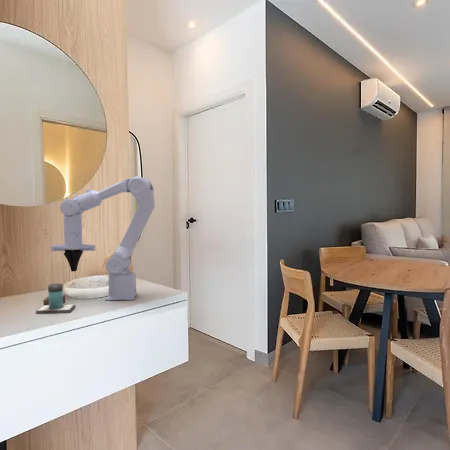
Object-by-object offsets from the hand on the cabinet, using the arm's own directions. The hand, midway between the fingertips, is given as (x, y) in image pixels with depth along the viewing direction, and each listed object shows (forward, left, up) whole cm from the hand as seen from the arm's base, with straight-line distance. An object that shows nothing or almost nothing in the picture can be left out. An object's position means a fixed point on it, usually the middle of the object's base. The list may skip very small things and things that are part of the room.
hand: (74, 270), depth 117 cm
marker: (+1, +15, -8) cm, 17 cm away
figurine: (-10, -18, -10) cm, 23 cm away
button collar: (+4, +9, -9) cm, 13 cm away
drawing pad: (+1, +15, -9) cm, 17 cm away
